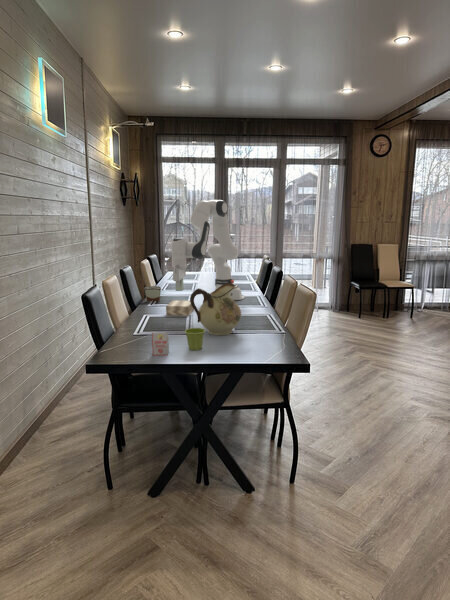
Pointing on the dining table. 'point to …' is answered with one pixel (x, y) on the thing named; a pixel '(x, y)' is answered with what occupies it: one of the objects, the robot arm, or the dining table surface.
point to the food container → (152, 293)
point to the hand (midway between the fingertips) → (179, 286)
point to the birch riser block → (179, 308)
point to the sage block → (180, 286)
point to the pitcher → (218, 310)
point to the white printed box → (160, 344)
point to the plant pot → (195, 338)
